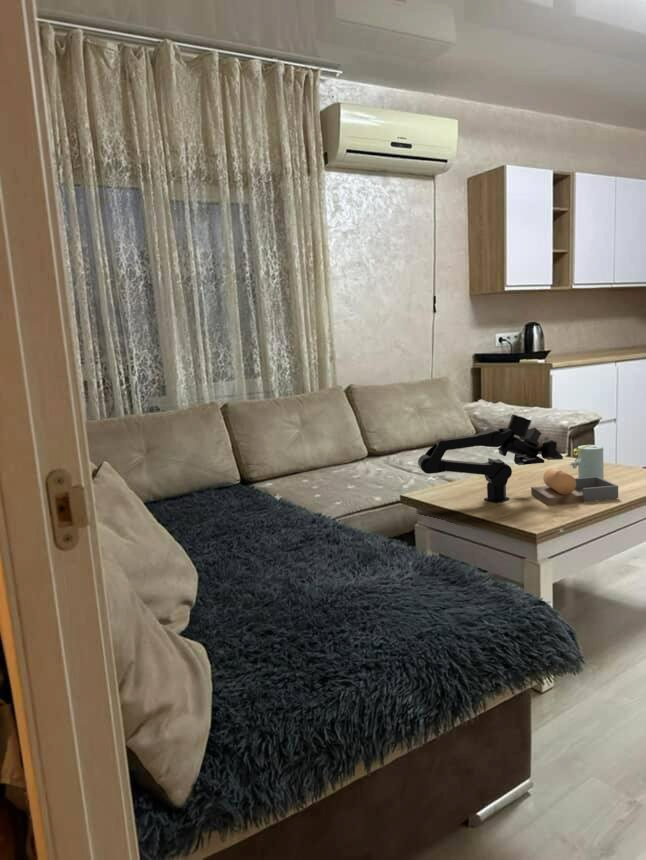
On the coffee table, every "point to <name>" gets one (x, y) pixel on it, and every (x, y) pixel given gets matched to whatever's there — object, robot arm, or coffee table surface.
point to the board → (556, 496)
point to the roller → (559, 481)
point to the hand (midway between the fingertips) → (553, 459)
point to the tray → (596, 488)
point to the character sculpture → (589, 461)
